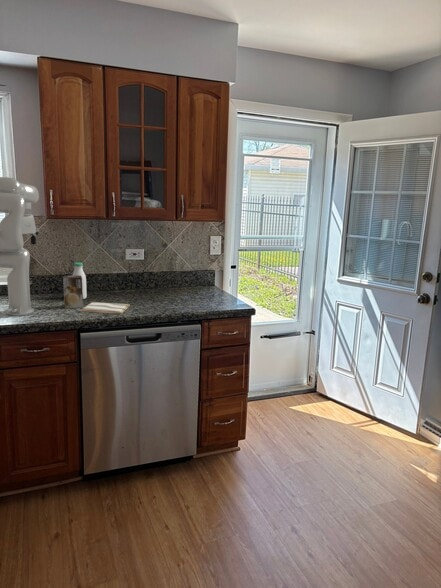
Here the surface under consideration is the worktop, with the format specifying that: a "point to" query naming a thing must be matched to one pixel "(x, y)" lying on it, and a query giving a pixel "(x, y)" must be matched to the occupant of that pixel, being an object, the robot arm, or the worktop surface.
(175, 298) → the worktop surface
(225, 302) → the worktop surface
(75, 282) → the coffee box
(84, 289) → the milk bottle
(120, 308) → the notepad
